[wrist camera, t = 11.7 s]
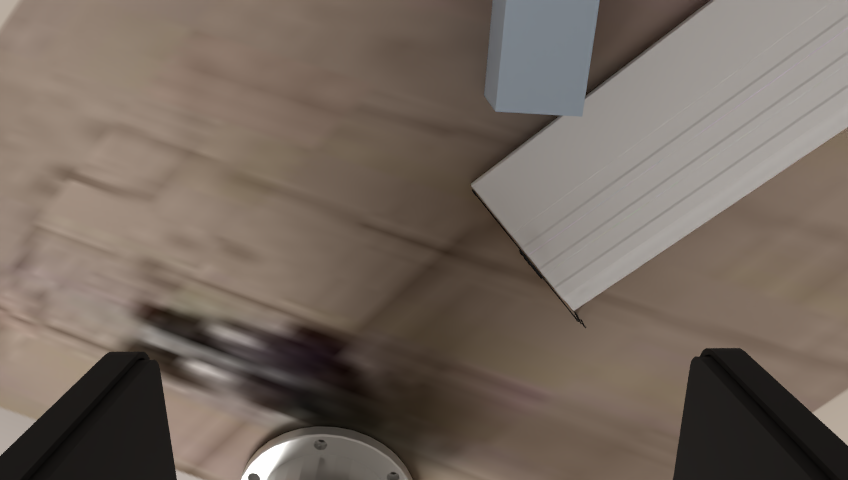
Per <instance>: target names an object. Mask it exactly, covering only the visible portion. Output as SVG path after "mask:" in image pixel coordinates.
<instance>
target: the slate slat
mask: <svg viewBox="0 0 848 480" xmlns="http://www.w3.org/2000/svg"><path fill="white" fill-rule="evenodd" d="M599 2H600V0H493V3H492V14H491V25H490V36H489V47H488V58H487V69H486V80H485V91H484V96H485V97H486V99H487V100H488V102H489V103H490V105H491V106H492V107H493V109H494V110H495V112H511V113H528V114H545V115H562V116H579V117H582V115H583V108H584V102H585V95H586V88H587V82H588V75H589V68H590V62H591V55H592V48H593V42H594V35H595V28H596V22H597V15H598V8H599Z"/></svg>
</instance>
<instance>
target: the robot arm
mask: <svg viewBox="0 0 848 480" xmlns="http://www.w3.org/2000/svg"><path fill="white" fill-rule="evenodd" d="M0 480H177V479H176V471H175V465H174V458H173V452H172V445H171V439H170V432H169V426H168V419H167V413H166V406H165V400H164V393H163V387H162V380H161V373H160V368H159V364H158V363H157V361H156V360H150V359H149V357H148V355H147V354H146V353H145V352H109V353H107V354H106V355H105V356H103V357H102V358H101V359H100V360H99V361H98V362H97V363H96V364H95V365H94V366H93V367H92V368H91V369H90V370H89V371H88V372H87V373H86V374H85V375H84V376H83V377H82V378H81V379H80V380H79V381H78V382H77V383H75V384H74V385H73V386H72V387H71V388H70V389H69V390H68V391H67V392H66V393H65V394H64V395H63V396H62V397H61V398H60V399H59V400H58V401H57V402H56V403H55V404H54V405H53V406H52V407H51V408H50V409H48V410H47V411H46V412H45V413H44V414H43V415H42V416H41V417H40V418H39V419H38V420H37V421H36V422H35V423H34V424H33V425H32V426H31V427H30V428H29V429H28V430H27V431H26V432H25V433H24V434H23V435H22V436H20V437H19V438H18V439H17V441H16V442H14V443H13V444H12V445H11V446H10V447H9V448H8V449H7V450H6V451H5V452H4V453H3V454H2V455H1V456H0ZM240 480H413V479H412V477H411V475H410V473H409V471H408V469H407V468H406V466H405V465H404V464H403V462H402V461H401V460H400V459H399V458H398V456H397V455H396V454H395V453H393V452H392V451H391V450H390V449H389V448H387V447H386V446H385V445H384V444H382V443H380V442H378V441H377V440H375V439H373V438H371V437H369V436H367V435H364V434H361V433H359V432H356V431H353V430H348V429H343V428H338V427H321V426H316V427H309V428H301V429H297V430H294V431H290V432H287V433H284V434H282V435H280V436H278V437H276V438H274V439H272V440H270V441H269V442H267V443H266V444H265V445H264V446H262V447H261V448H260V449H258V450H257V452H256V453H255V454H254V455H253V456H252V458H251V459H250V460H249V461H248V463H247V466H246V468H245V470H244V472H243V474H242V477H241V479H240ZM673 480H848V446H847V445H846V444H845V443H844V442H843V441H842V440H841V439H840V438H839V437H838V436H836V435H835V434H834V433H833V432H832V431H831V430H830V429H829V428H828V427H827V426H825V425H824V424H823V423H822V422H821V421H820V420H819V419H818V418H817V417H816V416H815V415H814V414H812V413H811V412H810V411H809V410H808V409H807V408H806V407H805V406H804V405H803V404H802V403H800V402H799V401H798V400H797V399H796V398H795V397H794V396H793V395H792V394H791V393H790V392H788V391H787V390H786V389H785V388H784V387H783V386H782V385H781V384H780V383H779V382H778V381H776V380H775V379H774V378H773V377H772V376H771V375H770V374H769V373H768V372H767V371H766V370H764V369H763V368H762V367H761V366H760V365H759V364H758V363H757V362H756V361H755V360H753V359H752V358H751V357H750V356H749V355H748V354H747V353H746V352H745V351H743V350H742V349H740V348H706V349H705V350H703V351H702V353H701V355H700V357H694V358H693V359H692V361H691V365H690V370H689V377H688V384H687V390H686V397H685V404H684V410H683V417H682V424H681V430H680V437H679V444H678V450H677V457H676V464H675V470H674V477H673Z"/></svg>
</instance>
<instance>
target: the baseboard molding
mask: <svg viewBox="0 0 848 480" xmlns="http://www.w3.org/2000/svg"><path fill="white" fill-rule="evenodd" d="M847 127H848V0H710V1H709V2H708V3H706V4H705V5H704V6H702V7H701V8H700V9H699V10H697V11H696V12H695V13H693V14H692V15H691V16H689V17H688V18H687V19H686V20H684V21H683V22H682V23H680V24H679V25H678V26H676V27H675V28H674V29H672V30H671V31H670V32H669V33H667V34H666V35H665V36H663V37H662V38H661V39H659V40H658V41H657V42H655V43H654V44H653V45H652V46H650V47H649V48H648V49H646V50H645V51H644V52H642V53H641V54H640V55H638V56H637V57H636V58H635V59H633V60H632V61H631V62H629V63H628V64H627V65H625V66H624V67H623V68H621V69H620V70H619V71H618V72H616V73H615V74H614V75H612V76H611V77H610V78H608V79H607V80H606V81H604V82H603V83H602V84H601V85H599V86H598V87H597V88H595V89H594V90H593V91H591V92H590V93H589V94H588V95H586V96H585V102H584V108H583V115H582V117H579V116H562V115H560V116H559V117H557V118H556V119H555V120H554V121H552V122H551V123H550V124H548V125H547V126H546V127H544V128H543V129H542V130H540V131H539V132H538V133H537V134H535V135H534V136H533V137H531V138H530V139H529V140H527V141H526V142H525V143H523V144H522V145H521V146H520V147H518V148H517V149H516V150H514V151H513V152H512V153H510V154H509V155H508V156H506V157H505V158H504V159H503V160H501V161H500V162H499V163H497V164H496V165H495V166H493V167H492V168H491V169H490V170H488V171H487V172H486V173H484V174H483V175H482V176H480V177H479V178H478V179H476V180H475V181H474V182H473V183H471V186H472V187H473V189H474V190H475V191H476V192H477V194H478V195H479V196H480V197H481V199H482V200H483V201H484V202H485V203H486V205H487V206H488V207H489V208H490V210H491V211H492V212H493V213H494V215H495V216H496V217H497V218H498V220H499V221H500V222H501V223H502V225H503V226H504V227H505V228H506V230H507V231H508V232H509V233H510V234H511V235H512V237H513V238H514V239H515V240H516V242H517V243H518V244H519V245H520V247H521V248H522V249H523V251H524V252H525V253H526V254H527V255H528V257H529V258H530V259H531V260H532V261H533V263H534V264H535V265H536V266H537V268H538V269H539V270H540V272H541V273H542V274H543V275H544V276H545V278H546V279H547V280H548V281H549V283H550V284H551V285H552V286H553V288H554V289H555V290H556V292H557V293H558V294H559V295H560V296H561V298H562V299H564V300H565V301H566V302H567V303H568V305H569V306H570V307H571V308H572V310H573V311H574V310H576V309H577V308H579V307H580V306H582V305H583V304H585V303H586V302H588V301H589V300H591V299H592V298H594V297H595V296H597V295H598V294H600V293H601V292H603V291H604V290H606V289H607V288H609V287H610V286H612V285H613V284H615V283H616V282H618V281H619V280H621V279H622V278H624V277H625V276H627V275H628V274H630V273H631V272H632V271H634V270H635V269H637V268H638V267H640V266H641V265H643V264H644V263H646V262H647V261H649V260H650V259H652V258H653V257H655V256H656V255H658V254H659V253H661V252H662V251H664V250H665V249H667V248H668V247H670V246H671V245H673V244H674V243H676V242H677V241H679V240H680V239H682V238H683V237H685V236H686V235H688V234H689V233H691V232H692V231H694V230H695V229H697V228H698V227H699V226H701V225H702V224H704V223H705V222H707V221H708V220H710V219H711V218H713V217H714V216H716V215H717V214H719V213H720V212H722V211H723V210H725V209H726V208H728V207H729V206H731V205H732V204H734V203H735V202H737V201H738V200H740V199H741V198H743V197H744V196H746V195H747V194H749V193H750V192H752V191H753V190H755V189H756V188H758V187H759V186H761V185H762V184H764V183H765V182H766V181H768V180H769V179H771V178H772V177H774V176H775V175H777V174H778V173H780V172H781V171H783V170H784V169H786V168H787V167H789V166H790V165H792V164H793V163H795V162H796V161H798V160H799V159H801V158H802V157H804V156H805V155H807V154H808V153H810V152H811V151H813V150H814V149H816V148H817V147H819V146H820V145H822V144H823V143H825V142H826V141H828V140H829V139H831V138H832V137H833V136H835V135H836V134H838V133H839V132H841V131H842V130H844V129H845V128H847ZM472 191H473V190H472ZM475 191H473V193H474V194H475V196H477V195H476V193H475ZM477 197H478V196H477ZM478 199H479V200H480V198H479V197H478ZM480 201H481V200H480ZM481 202H482V201H481ZM482 203H483V202H482ZM483 205H484V203H483ZM484 206H485V205H484ZM485 207H486V206H485ZM486 208H487V207H486ZM487 210H488V211H489V209H488V208H487ZM489 212H490V211H489ZM490 213H491V212H490ZM491 215H492V216H493V214H492V213H491ZM493 217H494V216H493ZM494 218H495V217H494ZM495 220H496V221H497V219H496V218H495ZM497 222H498V221H497ZM498 223H499V222H498ZM499 224H500V223H499ZM500 226H501V224H500ZM501 227H502V226H501ZM502 228H503V227H502ZM503 229H504V228H503ZM504 231H505V229H504ZM505 232H506V231H505ZM506 233H507V232H506ZM507 234H508V233H507ZM508 236H509V237H510V235H509V234H508ZM510 238H511V237H510ZM511 239H512V238H511ZM512 241H513V242H514V240H513V239H512ZM514 243H515V242H514ZM515 244H516V243H515ZM516 246H517V247H518V245H517V244H516ZM518 248H519V247H518ZM519 249H520V248H519ZM519 251H520V254H521V255H522V256H524V259H525V260H526V261H527V262H528V264H529V265H531V267H532V268H533V269H534V271H535V272H536V273H537V274H538V276H539V277H540V278H541V279H542V278H543V276H542V275H541V274H540V273H539V271H538V270H537V269H536V268H535V266H534V265H533V264H532V263H531V261H530V260H529V259H528V258H527V257H526V255H525V254H524V253H523V252H522V250H521V249H520V250H519ZM543 279H544V278H543ZM544 280H545V279H544ZM545 281H546V280H545ZM546 283H547V281H546ZM547 284H548V283H547ZM548 285H549V284H548ZM549 286H550V285H549ZM550 288H551V289H552V287H551V286H550ZM552 290H553V289H552ZM553 291H554V290H553ZM556 292H555V291H554V293H555V294H556ZM556 295H557V294H556ZM557 296H558V295H557ZM558 298H559V299H560V297H559V296H558ZM560 300H561V299H560ZM561 301H562V300H561ZM562 302H563V301H562ZM563 304H564V302H563ZM564 305H565V304H564ZM565 306H566V305H565ZM566 307H567V306H566ZM567 309H568V307H567ZM568 310H569V309H568ZM569 311H570V310H569ZM570 312H571V311H570ZM571 314H572V312H571ZM572 315H573V314H572ZM575 315H576V317H577V318H576V317H575V316H574V315H573V316H574V317H575V319H576V321H578V322H580V323H581V322H582V320H581V321H580V319H579V317H578V315H577V314H576V313H575ZM581 324H583V322H582V323H581ZM583 326H584V324H583ZM584 327H585V326H584ZM585 328H586V327H585Z"/></svg>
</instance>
